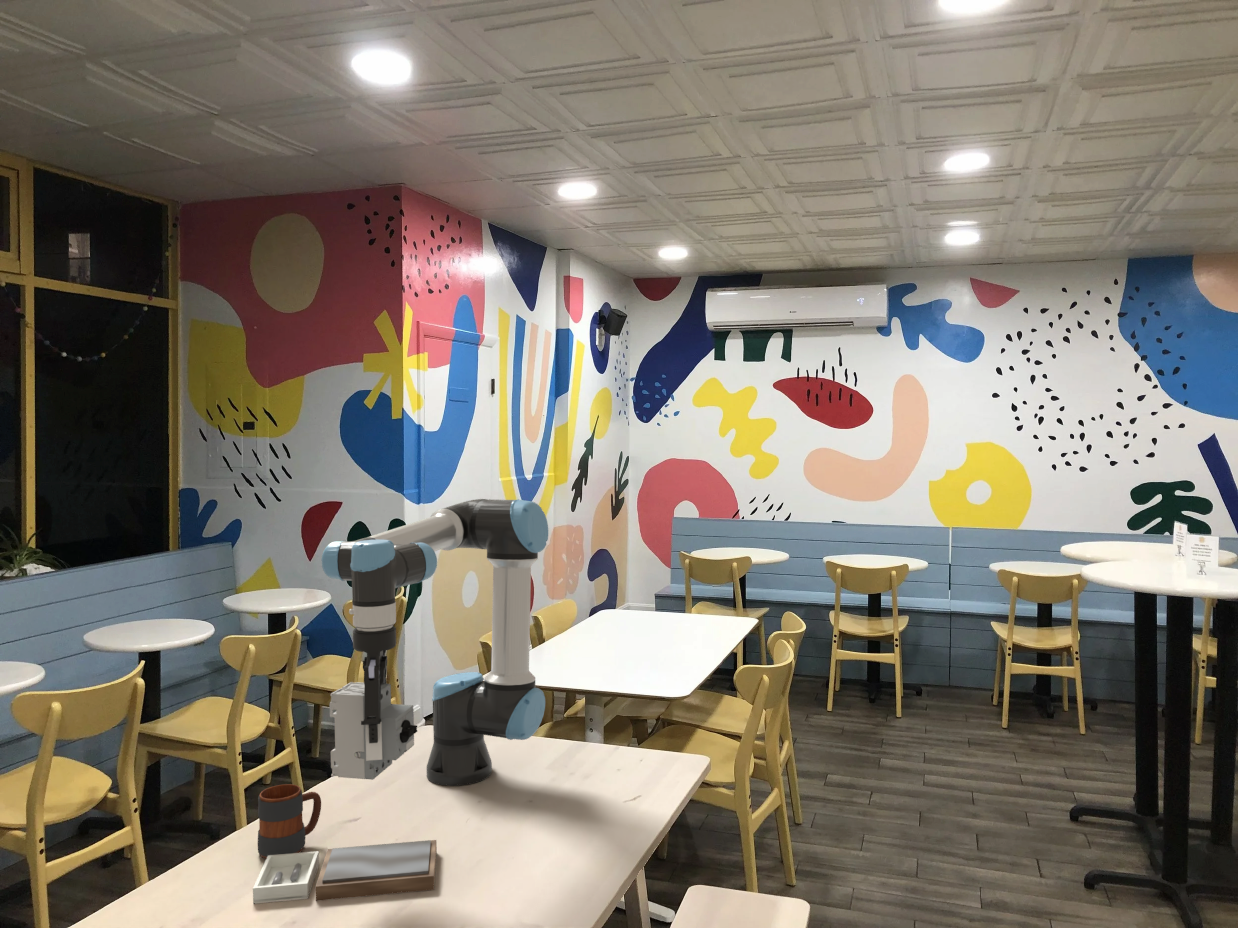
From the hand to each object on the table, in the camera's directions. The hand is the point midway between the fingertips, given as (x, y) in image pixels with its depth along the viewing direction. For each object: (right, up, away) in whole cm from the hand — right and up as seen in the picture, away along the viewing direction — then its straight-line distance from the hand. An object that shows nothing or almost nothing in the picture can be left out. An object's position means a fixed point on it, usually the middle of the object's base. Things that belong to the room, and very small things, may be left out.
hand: (377, 749), depth 163 cm
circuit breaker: (0, -4, 0) cm, 4 cm away
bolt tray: (-16, -24, -2) cm, 28 cm away
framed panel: (0, -23, +1) cm, 23 cm away
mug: (-20, -23, +12) cm, 33 cm away
